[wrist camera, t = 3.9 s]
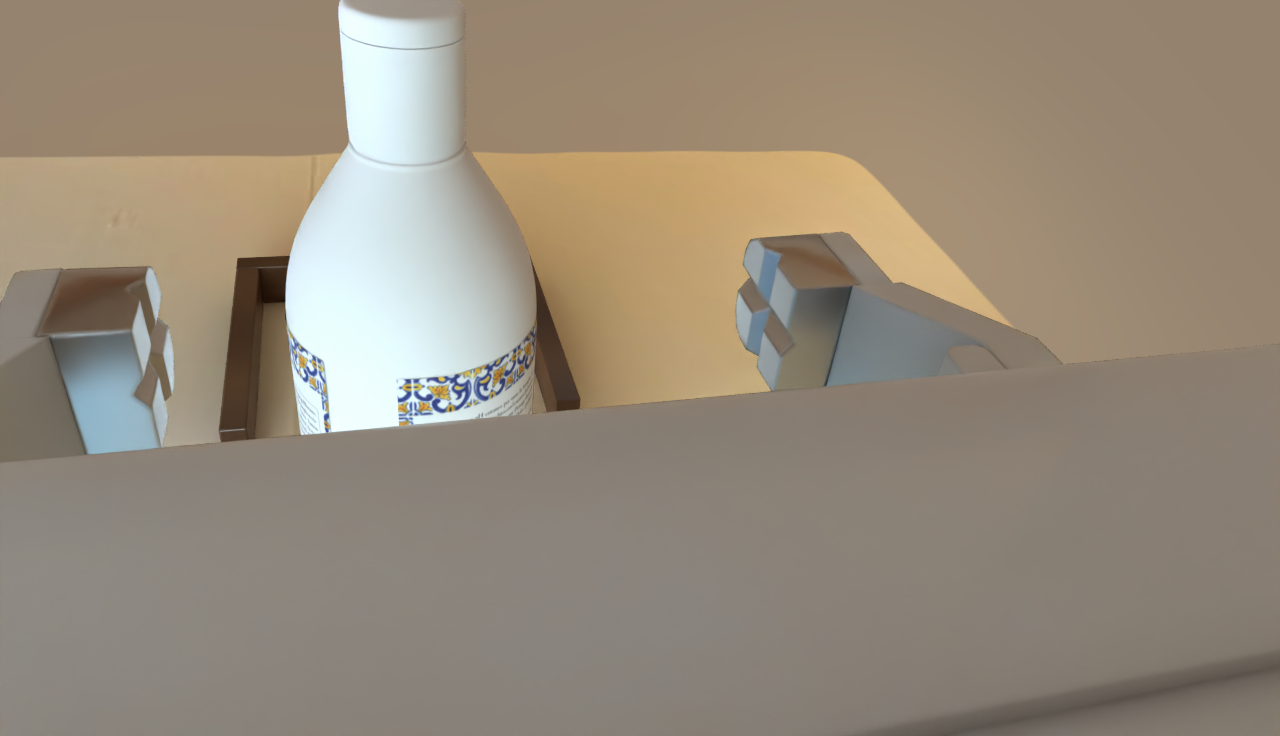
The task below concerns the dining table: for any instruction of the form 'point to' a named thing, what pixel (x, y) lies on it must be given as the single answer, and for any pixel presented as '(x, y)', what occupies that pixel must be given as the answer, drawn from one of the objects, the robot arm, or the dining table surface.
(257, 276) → the stand
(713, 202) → the dining table surface
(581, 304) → the dining table surface
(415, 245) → the bath foam
